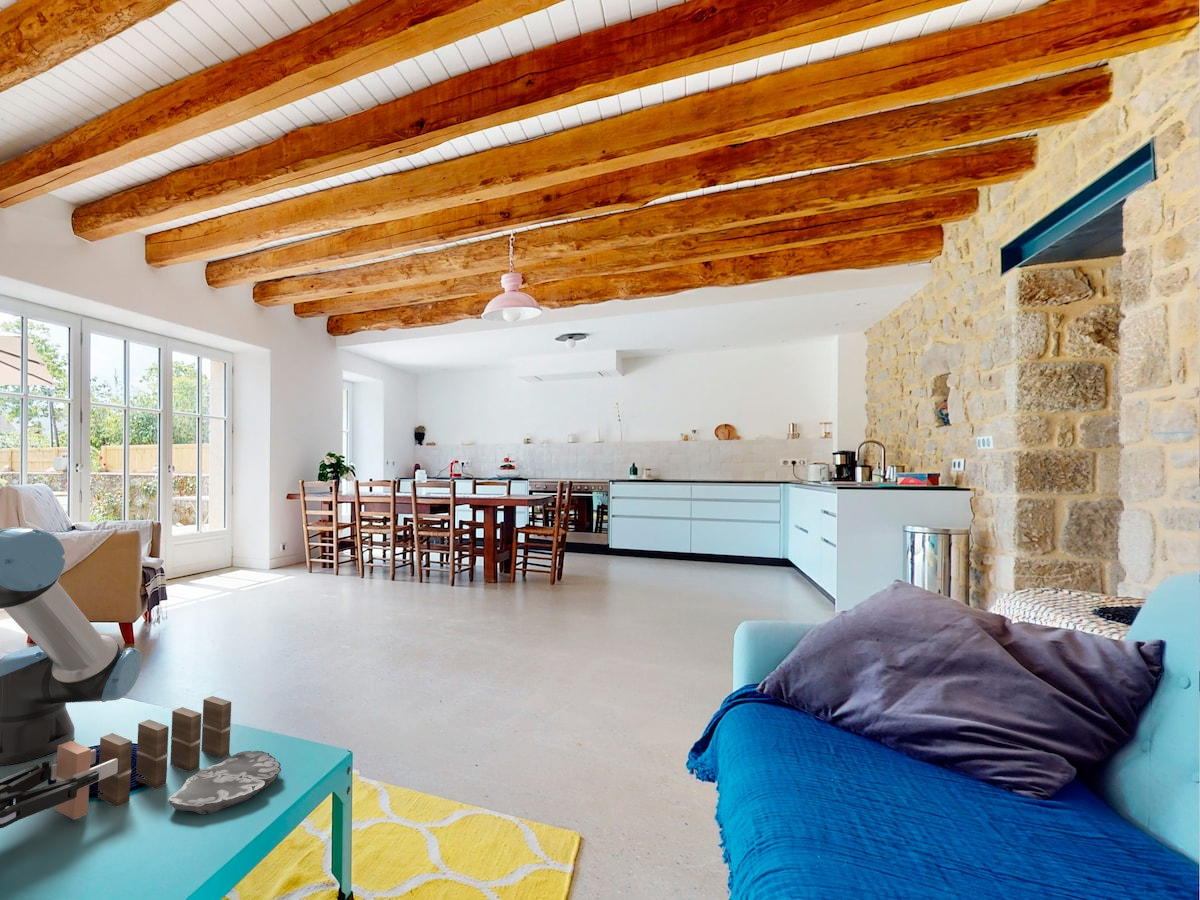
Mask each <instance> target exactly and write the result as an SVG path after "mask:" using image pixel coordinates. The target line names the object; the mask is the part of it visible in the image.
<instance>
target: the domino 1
mask: <svg viewBox="0 0 1200 900" xmlns="http://www.w3.org/2000/svg"><path fill="white" fill-rule="evenodd" d="M91 750H92V748H90V747H87V746H84V745H83V744H80V743H78V742H75V741H73V740H72V741H69V742H66V743H64V744H61V745H58V750H57V754H56V756H57V757H56V763H57V772H56V779H55V783H58V782H61V781H65V780H68V779H72V778H73V775H75V774H78V773H80V772H83V771H85V770H88V769H90V768H91V765H90V758H91ZM89 795H90V785H88V786H86V787H83V788H81V789H79V790H77V797H76V798H74V799H71V800H69V801H66V802H64V803H61V804H59V805H56V806H54V810H55V811H57V812H59V813H60V814H62V815H65V817H68V818H70V819H72V820H76V819H78V818H79V819H80V818H82V817H83V816H85V815H87V814H89V799H90V797H89Z"/></svg>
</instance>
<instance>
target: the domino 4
mask: <svg viewBox="0 0 1200 900" xmlns="http://www.w3.org/2000/svg"><path fill="white" fill-rule="evenodd" d="M201 743H202V713H201V712H198V711H195V710H192V709H189V708H185V707H183V706H181V707H179V708H176V709H173V710H172V715H171V736H170V762H169V765H170V766H172V767H175V768H178V769H179V770H182V771H184V772H187V773H191V772H193V771H194V772H195V771H196V770H199V769H200V764H201V763H200V760H201V758H200V757H201Z"/></svg>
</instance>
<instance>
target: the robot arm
mask: <svg viewBox="0 0 1200 900" xmlns="http://www.w3.org/2000/svg"><path fill="white" fill-rule="evenodd" d="M65 554H66V553H65V548H64V545H63V544H62V542H61V540H60V539H59V538H58V537H57V536H55V535H54V534H53V533H51V532H49V531H47V530H42V529H38V528H28V527H20V526H19V527H18V526H17V527H16V526H15V527H0V610H4V611H5V612H6V613H7V614H8V615H9V616H10V617H11V619H12V620H14V622H15V623H16V624H17V625H18V626H19V627H20V628H21V630H22V631H23V632H24V633H25V634H26V635H27V636H28V637H29V638H30V639H31V640H32V641H33V642H34V643H35V644H36V645H35V646H30V647H26V648H23V649H20V650H19V649H18V650H16V651H14V652H13V651H12V652H11V653H9V654H7V655H4V656H3V657H1V658H0V766H7V765H15V764H20V763H23V762H27V761H28V762H29V761H31V760H35V759H38V758H41V757H45V756H47V755H49V754H53V753H55V752H56V751H57V752H58V745H61V744H64V743H66V742H69V741H73V740H74V739H75V725H74V723H73V721H72V718H71V716H70V714H69V712H68V709H67V706H66V705H67V703H68V704H71V703H73V704H74V703H91V702H92V703H93V702H96V703H97V702H102V703H105V702H110V701H119V700H120V699H122V698H124V697H125V696H127V695H128V694H129V693H130V691H131V690H132V689H133V687H135V684H136V683H137V681H138V680H139V679H138V678H139V676H140V673H141V671H142V670H141V669H142V666H143V665H142V664H143V656H142V652H141V651H140V649H138V648H135V647H127V648H124V647H121V646H120V645H119V644H118V643H117V641H116V640H115V639H114V638H113V637H112V636H109V635H105V634H103V635H101V634H100V633H99V632H98V631H97V629H96V628H95V627H94V626H93V625H92V623H91V622H90V621H89V619H88V618H87V617H86V615H85V614H84V613H83V611H81V609H80V608H79V607H78V606H77V604H76V603H75V602H74V600H73V599H72V598H71V596H70V595H69V594H68V593H67V592H66V590H65V589H64V587H62V585H61V584H60V582H59V580H60V578H61V574H62V573H63V571H64V567H65V564H66V558H64V557H63V556H64V555H65ZM96 760H97V749H96V748H93V749H92V748H91V758H90V766H93V765H95V764H96ZM41 764H42V765H41ZM41 764H35V765H32V766H30V767H28V768H25V769H23V770H20V771H18V772H16V773H13V774H11V775H9V776H8V775H7V776H6V777H3V778H1V779H0V829H4V828H7V827H8V826H10V825H12V824H13V823H15V822H17V821H19V820H22V819H25V818H27V817H30V816H33V815H35V814H38V813H41V812H42V811H46V810H49V809H51V808H53V807H55V806H56V805H59V804H61V803H64V802H66V801H69V800H71V799H74V798H76V797H77V790H79V789H81V788H83V787H86V786H88V785H89V786H90V785H93V784H94V783H97V782H98V781H100V780H102V779H104V778H107V777H109V776H111V775H114V774H116V773H117V771H118V759H117V758H115V759H112V760H110V761H107V762H105V763H102V764H100V765H99V764H97V765H95V766H93V767H90V769H88V770H85V771H83V772H80V773H78V774H75V775H73V778H72V779H68V780H65V781H61V782H58V783H56V782H55V783H52V784H48V785H43V786H41V787H38V788H36V787H37V786H39V785H41V784H42V783H43V784H44V782H46V781H48V780H49V779H50V780H51V781H56V772H57V762H55V763H53V764H51V761H48V760H47V761H44V762H42V763H41ZM50 764H51V765H50ZM14 802H15V803H14Z"/></svg>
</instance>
